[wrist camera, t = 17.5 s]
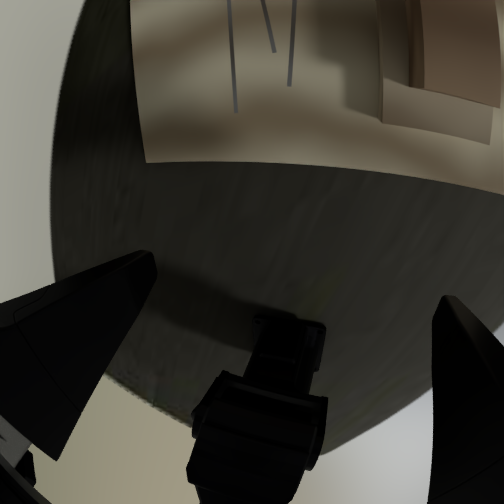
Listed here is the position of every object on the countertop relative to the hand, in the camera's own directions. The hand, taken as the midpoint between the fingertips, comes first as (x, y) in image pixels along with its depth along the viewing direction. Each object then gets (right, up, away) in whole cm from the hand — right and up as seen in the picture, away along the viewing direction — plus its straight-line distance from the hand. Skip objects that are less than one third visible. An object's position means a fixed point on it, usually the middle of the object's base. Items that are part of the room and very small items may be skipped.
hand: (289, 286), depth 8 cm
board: (+3, +13, +5) cm, 14 cm away
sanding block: (+8, +12, +2) cm, 15 cm away
